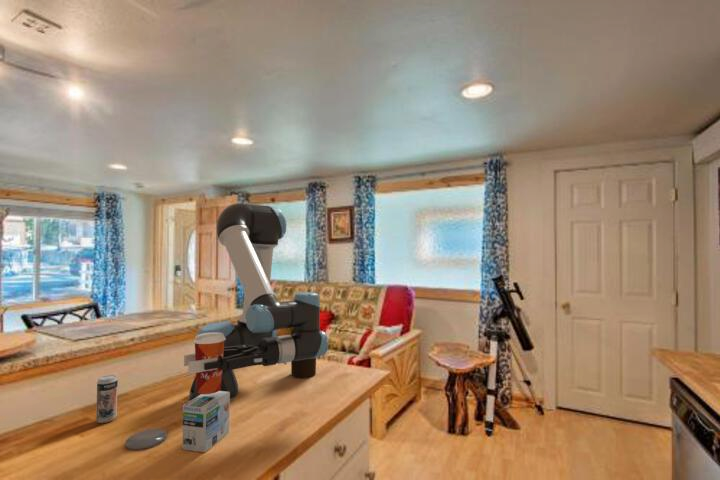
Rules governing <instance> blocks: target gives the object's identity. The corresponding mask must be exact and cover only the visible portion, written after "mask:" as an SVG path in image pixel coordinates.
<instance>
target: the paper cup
mask: <svg viewBox="0 0 720 480" xmlns="http://www.w3.org/2000/svg"><path fill="white" fill-rule="evenodd" d="M224 340H226V338H225V337H224V335H223V333H218V332H211V333H203V334H199V335H197V334H196V335H195V337H194V340H193V341H192V342H193V343H194V353H195V360H196V361H197V360H204V359H212V358H218V356H222V358H223V353H224ZM195 375H196V382H197V393H199V394H213V393H216V392H218V391H220V389H221V380H222V370H219V369H218V368H217V369H216V370H210V371H204V372H198V373H195Z"/></svg>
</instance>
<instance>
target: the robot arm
mask: <svg viewBox="0 0 720 480" xmlns="http://www.w3.org/2000/svg"><path fill="white" fill-rule="evenodd" d="M286 220H287V219H286V217H285V214H284V213H283V211H282V210H281V209H280V208H278V207H276V206H269V205H263V204H262V205H261V204H251V203H249V204H248V203H243V202H240V203H239V202H238V203H233V204H231V205H229V206H227V207H226V208H225V209H223V210H222V211H221V212H220V214H219V216H218V218H217V221H216V226H215V227H216V228H215V229H216V230H215V231H216V236H217V240H218V241H219V243H220V244H221V245H222V246H224V247H225V249H226V252H227V254H228V256H229V259H230V261H231V263H232V266H233V268H234V272H235V273H236V276H237V277H238V281H239V283H240V285H241V289H242V291H243V293H244V295H243V306H242V313H241V314H240V315H239V316H237V324H234V322H233V321H224V320H223V321H218V322H212V323H209V324H206V325H203V326H202V327H200V328H199V329H198V331H197V333H196V335H199V334H203V333H211V332H218V333H223V335H224V337H225V338H226V340H224V353H223V358H222V356H218V358H212V359H204V360H197V361H196V360H195V352H194V353H187V354H183V366H184V367H188V368H187V370H188V371H187V372H188V375H191V374H195V376H194V379H193V381H192V384H191V387H190V390H189V401H191V400H192V399H194V398H196V397H197V396H199V395H201V394H199V393H197V382H196V373H198V372H204V371H210V370H216V369H217V368H218V369H219V370H222V380H221V389H220V391H226V392H230V400H231V399H233V398H235V397H236V396H237V395H238V394H239V383H238V380H237V377H236V374H235V371H234V370H237V369H243V368H247V367H248V368H249V367H254V366H263V367H270V366H275V365H276V364H279V365H280V364H283V365H287V363H291V362H292V361H297V360H304V359H313V358H316V359H317V358H320V357H323V356H325V355H326V354H327V352H328V350H329V341H328V335H327V333H326V332H325V331H323V330H321V329H320V317H321V316H320V315H321V313H320V311H321V299H320V294H319V293H317V292H312V291H311V292H310V291H307V292H304V291H303V292H301V291H300V292H297V293H295V294H294V299H293V300H287V301H279V300H278V298H277V297H276V294H275V292H274V289H273V287H272V285H271V278H272V277H271V276H272V264H273V256H274V255H273V253H274V249H275V248H276V247H278V245H279V240H281V239H283V237H285V235H286V233H287V221H286ZM293 327H294V331H295V334H293V335H290V334H285V335H278V336H277V331H278V330H285V329H292V328H293Z"/></svg>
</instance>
